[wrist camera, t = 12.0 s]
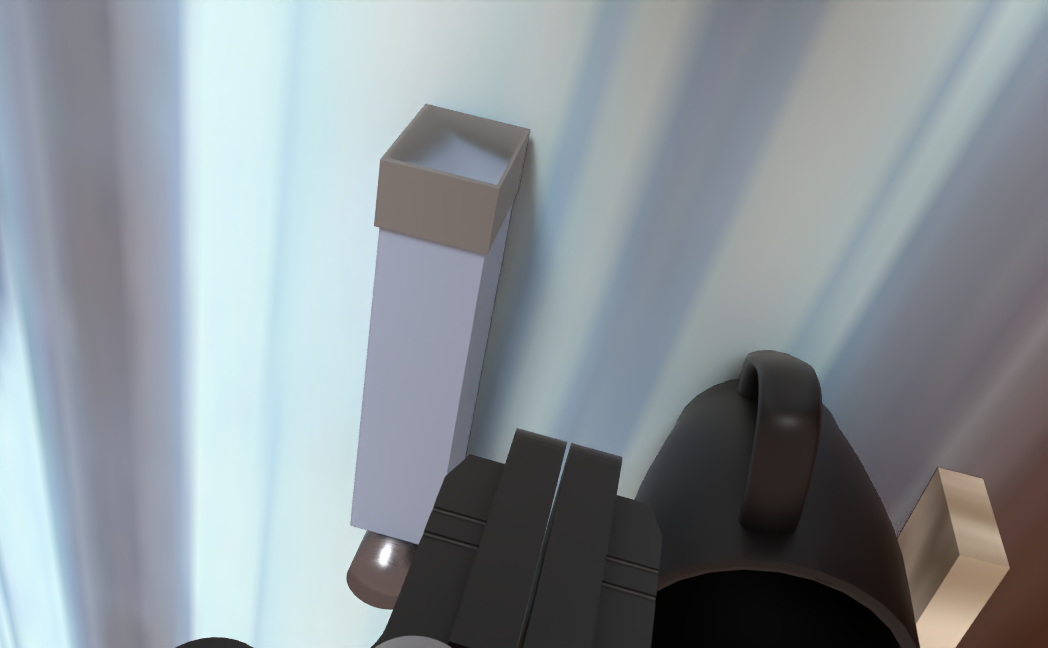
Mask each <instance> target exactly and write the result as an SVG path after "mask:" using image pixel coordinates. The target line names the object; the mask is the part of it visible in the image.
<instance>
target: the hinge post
mask: <svg viewBox="0 0 1048 648" xmlns="http://www.w3.org/2000/svg"><path fill="white" fill-rule="evenodd" d="M418 545H419V544H415V543H412V542H408V541H404V540H401V539H397V538H394V537H390V536H386V535H383V534H379V533H376V532H372V531H369V530H367V531H366V533H365V536H364V538H363V540H362V542H361V544H360V546H359V548H358V551H357V553H356V555H355V557H354V559H353V561H352V563H351V566H350V568H349V570H348V572H347V583H348V586H349V588H350V590H351V591H352V592H353V593H354V595H355V596H357V597H358V598H359V599H360V600H362V601H363V602H365V603H367V604H369V605H371V606H374V607H377V608H381V609H394V606H395V604H396V601H397V599H398V596H399V593H400V591H401V588H402V586H403V583H404V581H405V578H406V575H407V573H408V570H409V568H410V565H411V563H412V560H413V557H414V555H415V552H416V550H417V547H418Z"/></svg>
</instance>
